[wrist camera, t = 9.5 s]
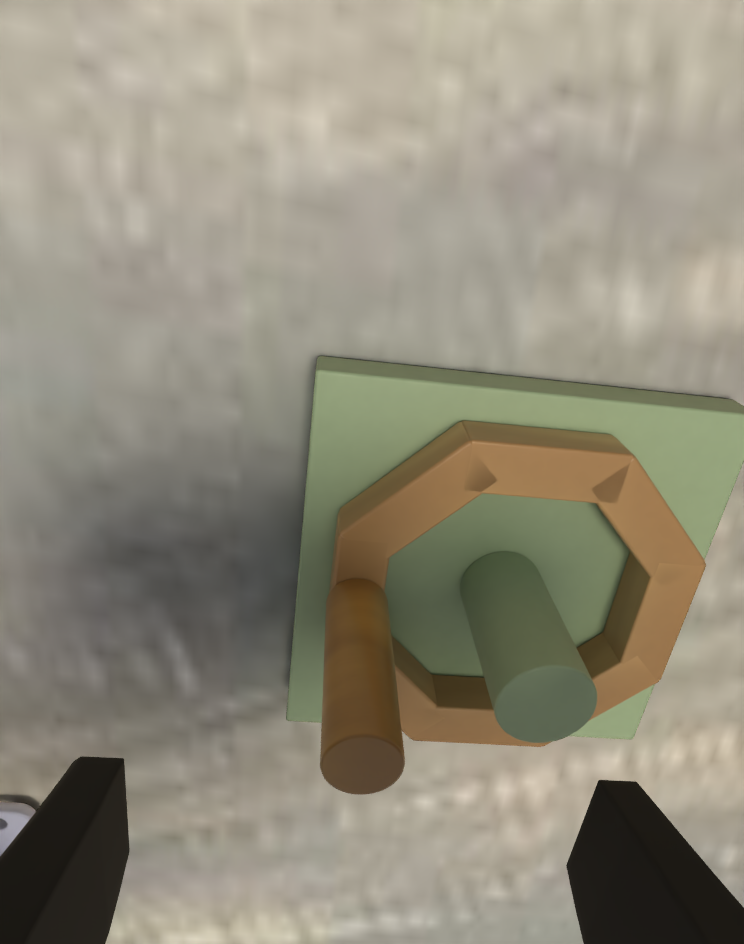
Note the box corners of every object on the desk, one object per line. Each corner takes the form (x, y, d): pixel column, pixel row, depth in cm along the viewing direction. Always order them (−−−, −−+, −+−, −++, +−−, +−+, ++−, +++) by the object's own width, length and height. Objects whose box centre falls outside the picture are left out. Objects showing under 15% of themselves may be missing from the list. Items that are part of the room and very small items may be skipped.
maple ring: (313, 700, 17) (301, 920, 12) (344, 407, 14) (346, 545, 9) (614, 717, 18) (721, 931, 13) (717, 443, 14) (919, 589, 9)
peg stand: (289, 689, 19) (271, 864, 14) (317, 354, 14) (305, 443, 10) (617, 709, 20) (705, 879, 15) (733, 398, 15) (907, 499, 11)
